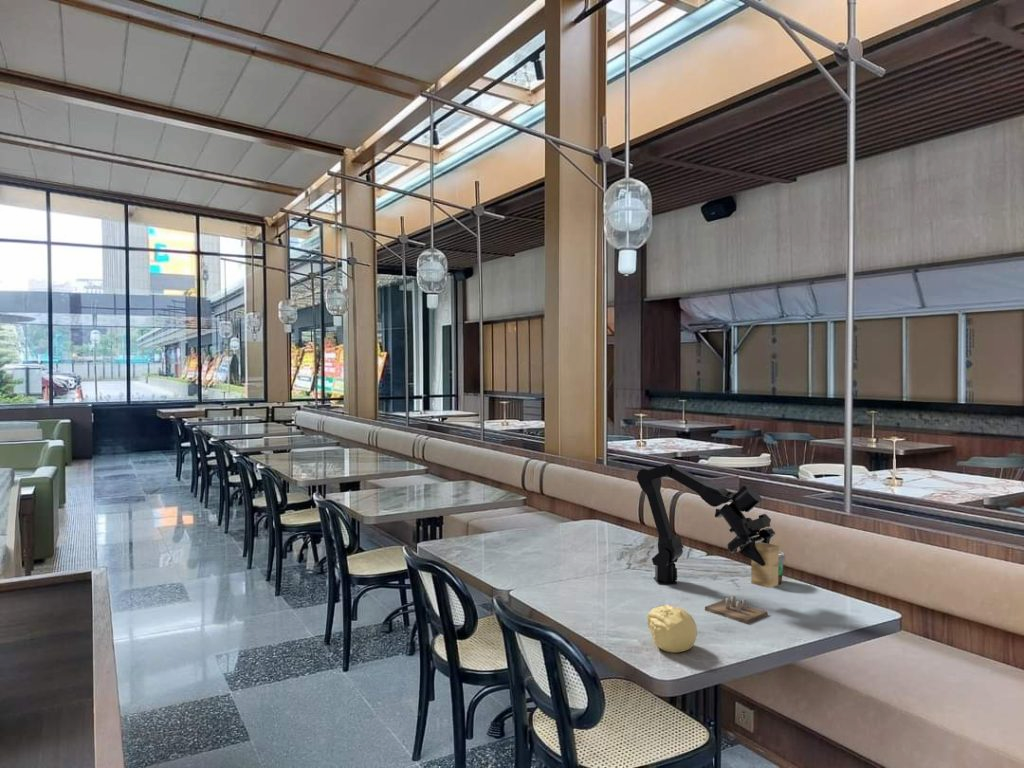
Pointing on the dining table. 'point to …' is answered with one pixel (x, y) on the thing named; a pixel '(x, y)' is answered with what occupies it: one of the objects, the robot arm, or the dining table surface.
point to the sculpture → (672, 628)
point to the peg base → (736, 610)
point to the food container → (780, 566)
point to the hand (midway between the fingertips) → (768, 563)
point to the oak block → (765, 566)
